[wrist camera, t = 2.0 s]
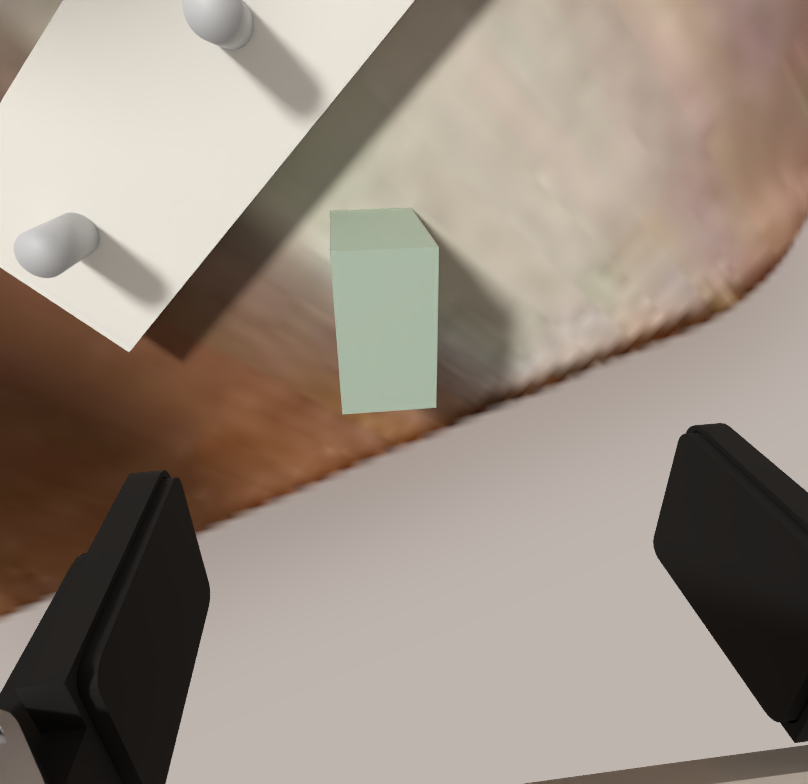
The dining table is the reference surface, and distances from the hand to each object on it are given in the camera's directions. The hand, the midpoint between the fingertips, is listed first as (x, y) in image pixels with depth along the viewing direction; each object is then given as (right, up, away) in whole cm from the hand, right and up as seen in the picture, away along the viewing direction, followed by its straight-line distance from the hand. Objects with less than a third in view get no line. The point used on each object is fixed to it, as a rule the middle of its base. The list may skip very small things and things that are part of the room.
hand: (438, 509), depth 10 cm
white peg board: (-7, +15, +10) cm, 19 cm away
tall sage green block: (-2, +7, +15) cm, 17 cm away
